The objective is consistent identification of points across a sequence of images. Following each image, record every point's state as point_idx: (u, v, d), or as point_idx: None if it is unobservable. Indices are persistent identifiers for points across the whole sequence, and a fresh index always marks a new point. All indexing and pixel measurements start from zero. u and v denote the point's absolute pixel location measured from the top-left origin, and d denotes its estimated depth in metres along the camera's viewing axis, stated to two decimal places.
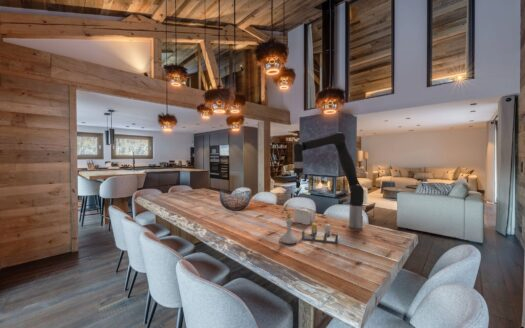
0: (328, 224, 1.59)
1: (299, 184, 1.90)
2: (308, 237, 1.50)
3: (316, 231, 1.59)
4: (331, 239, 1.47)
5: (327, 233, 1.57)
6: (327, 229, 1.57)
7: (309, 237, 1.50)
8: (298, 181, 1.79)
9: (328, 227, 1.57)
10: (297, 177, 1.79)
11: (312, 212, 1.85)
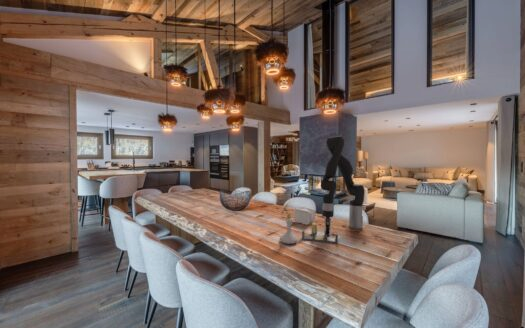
0: None
1: None
2: (308, 237, 1.50)
3: (316, 231, 1.59)
4: (331, 239, 1.47)
5: None
6: None
7: (309, 237, 1.50)
8: (329, 228, 1.53)
9: (328, 227, 1.57)
10: (328, 224, 1.52)
11: (312, 212, 1.85)
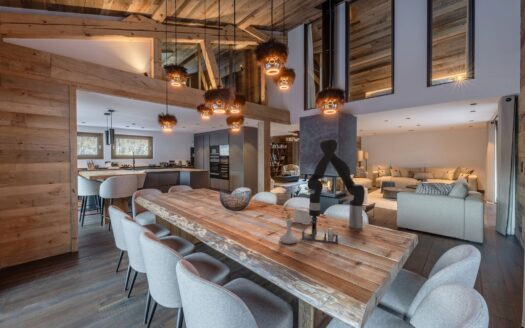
0: (331, 228, 1.47)
1: None
2: (308, 237, 1.50)
3: (316, 231, 1.59)
4: None
5: (330, 238, 1.45)
6: (330, 233, 1.45)
7: (309, 237, 1.50)
8: (315, 227, 1.55)
9: (331, 231, 1.45)
10: (314, 224, 1.54)
11: None
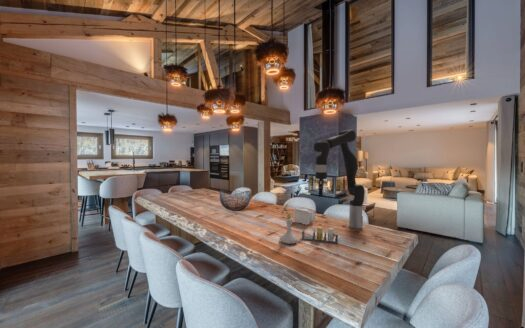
0: (331, 228, 1.47)
1: (321, 192, 1.56)
2: (308, 237, 1.50)
3: (322, 235, 1.47)
4: None
5: (330, 238, 1.45)
6: (330, 233, 1.45)
7: (309, 237, 1.50)
8: (322, 188, 1.46)
9: (331, 231, 1.45)
10: (321, 183, 1.46)
11: (312, 212, 1.85)
